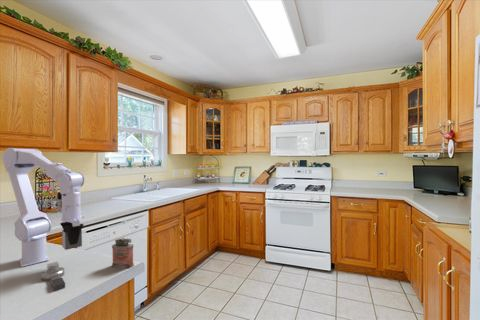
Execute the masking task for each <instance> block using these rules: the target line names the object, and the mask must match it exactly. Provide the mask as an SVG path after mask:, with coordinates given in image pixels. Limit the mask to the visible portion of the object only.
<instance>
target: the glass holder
mask: <svg viewBox="0 0 480 320" xmlns="http://www.w3.org/2000/svg"><path fill="white" fill-rule="evenodd" d="M53 197H55V200H56V201H57V206H56V205H55V204H54V203H53V199H52V198H53ZM50 203H51V205H52V206H53V207H54V208H56V209H57V212H62V194H61V193H60V191H59V192H57V195H56V194H55V195H53V194H52V196H51V197H50ZM57 212H56V213H57Z"/></svg>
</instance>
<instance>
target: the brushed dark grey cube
mask: <svg viewBox="0 0 480 320" xmlns="http://www.w3.org/2000/svg"><path fill="white" fill-rule="evenodd" d="M61 233H62V234H61V236H62V243H61V244H62V246H61V247H62V248H63V249H64V251H67V250H72V249H75V248H81V247H82V246H83V236H82V235H83V234H82V233H83V230H82V229H81V232H80V235H79V239H78V243H77V244H73V245H70V243H69V238H68V234H67V231H66V230H61Z"/></svg>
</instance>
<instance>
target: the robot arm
mask: <svg viewBox="0 0 480 320" xmlns="http://www.w3.org/2000/svg"><path fill="white" fill-rule="evenodd" d="M1 158H2V162H3V165H4V169H5V172H7V174H8V176H9V181H10V183H11V186H12V189H13V192H14V193H13V194H14V196H15V200H16V202H17V203H16V204H17V206H18V210H19V213H20V216H19V217H18V218H17V219H16V220H15V221H14V223H13V225H14V235H15V238H16V239H18V241H21V258H19V264H20V267H21V268H23V267H27V266H31V265H35V264H39V263H44V262H48V261H49V260H50V258H49V256H48V254H47V236H49V233H50V232H51V231H52V227H53V225H52V222H51V220H50V219H49V217H48V215H47V213H45V212H42V211H40V210H39V207H38V203H37V201H36V196H35V195H34V191H33V187H32V185H31V181H30V178H29V173H30V172H32V171H33V170H34V169H35V167H38V168H40V169H42V170H44V172H45V175H46V176H48V177H49V178H50V179H52V180H54V182H56V184H57V186H58V188H59V192H60V193H61V194H62V213H61V222H60V223H59V224H60V225H61V227H62V229H63V230H66V231H67V234H68V238H69V243H70V245H73V244H77V243H78V239H79V235H80V232H81V230H82V229H83V228H84V223H81V219H84V218H85V217H86V216H85V215H82V207H81V206H82V204H81V203H82V202H81V201H82V197H81V194H82V193H81V189H82V188H81V187H83V185H84V184H85V177H84V175H83V174H82V173H81V172H79V171H73V170H72V169H71V168H67V167H65V166H64V165H63V163H62V162H52V161H51V160H49V159H48V158H47V157H45V156H44V155H43V153H42V151H41V150H39V149H38V148H18V147H17V148H15V147H7V148H6V149H5V151H4V153H3V155H2V157H1Z"/></svg>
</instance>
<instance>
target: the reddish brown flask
mask: <svg viewBox="0 0 480 320" xmlns="http://www.w3.org/2000/svg"><path fill="white" fill-rule="evenodd" d="M114 241H115V243H114V244H112V245H111V249H112V263H111V267H113V268H116V269H117V268H118V269H130V268H133V267H134V266H135V263H134V244H132V238H125V237H121V238H115V240H114Z"/></svg>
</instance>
